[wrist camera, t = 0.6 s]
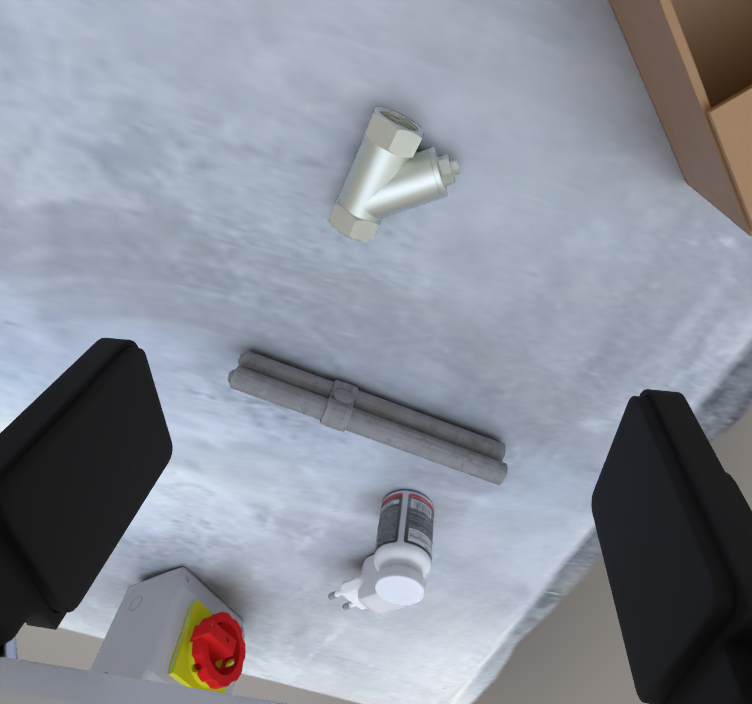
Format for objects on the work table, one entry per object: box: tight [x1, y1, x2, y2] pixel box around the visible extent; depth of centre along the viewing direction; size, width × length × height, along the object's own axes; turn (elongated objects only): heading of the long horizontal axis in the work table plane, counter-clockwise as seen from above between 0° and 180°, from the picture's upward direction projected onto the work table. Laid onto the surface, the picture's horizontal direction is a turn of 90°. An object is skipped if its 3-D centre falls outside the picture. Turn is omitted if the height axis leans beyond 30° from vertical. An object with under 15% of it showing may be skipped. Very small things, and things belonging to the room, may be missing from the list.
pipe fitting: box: [328, 107, 460, 241], centre depth 35 cm, size 8×4×7 cm
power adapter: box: [328, 554, 408, 615], centre depth 61 cm, size 11×5×6 cm, turn 131°
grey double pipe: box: [228, 351, 507, 485], centre depth 46 cm, size 26×3×5 cm, turn 71°
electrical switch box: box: [90, 567, 245, 694], centre depth 66 cm, size 15×15×20 cm
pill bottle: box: [374, 490, 434, 605], centre depth 52 cm, size 6×6×10 cm
